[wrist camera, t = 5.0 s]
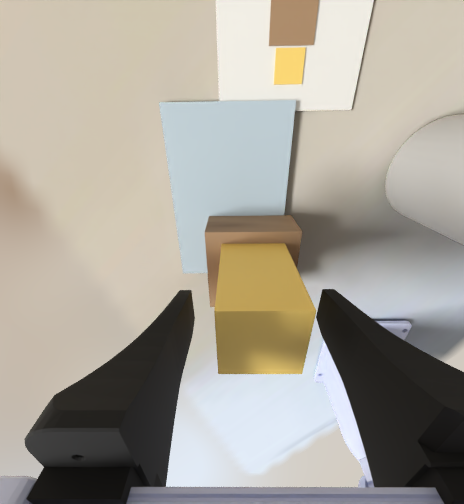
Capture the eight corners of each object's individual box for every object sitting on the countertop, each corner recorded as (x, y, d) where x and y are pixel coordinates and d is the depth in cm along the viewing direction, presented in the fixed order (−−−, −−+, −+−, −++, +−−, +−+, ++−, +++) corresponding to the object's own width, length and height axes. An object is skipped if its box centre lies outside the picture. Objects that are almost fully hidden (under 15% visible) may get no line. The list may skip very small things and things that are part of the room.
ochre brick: (279, 293, 16) (302, 373, 11) (223, 293, 16) (218, 373, 11) (284, 243, 14) (316, 311, 9) (221, 243, 14) (214, 311, 9)
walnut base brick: (283, 282, 19) (291, 306, 16) (213, 282, 19) (210, 306, 17) (291, 215, 16) (302, 231, 14) (209, 216, 16) (204, 232, 14)
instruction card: (349, 110, 14) (351, 109, 13) (219, 112, 14) (219, 111, 13) (379, -36, 11) (383, -41, 11) (214, -33, 11) (214, -37, 11)
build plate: (277, 268, 19) (278, 272, 19) (184, 269, 19) (183, 273, 19) (293, 101, 13) (295, 100, 13) (161, 103, 14) (159, 102, 13)
